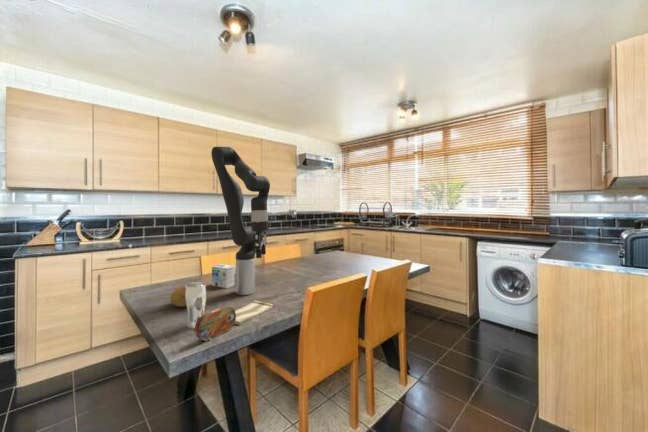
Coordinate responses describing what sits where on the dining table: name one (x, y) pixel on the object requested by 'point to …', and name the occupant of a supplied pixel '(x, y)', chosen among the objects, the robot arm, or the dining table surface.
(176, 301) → the potato
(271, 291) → the dining table surface
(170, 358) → the dining table surface
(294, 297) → the dining table surface
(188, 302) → the beer glass
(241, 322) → the board
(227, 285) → the light bulb box
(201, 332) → the tin
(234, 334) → the dining table surface
